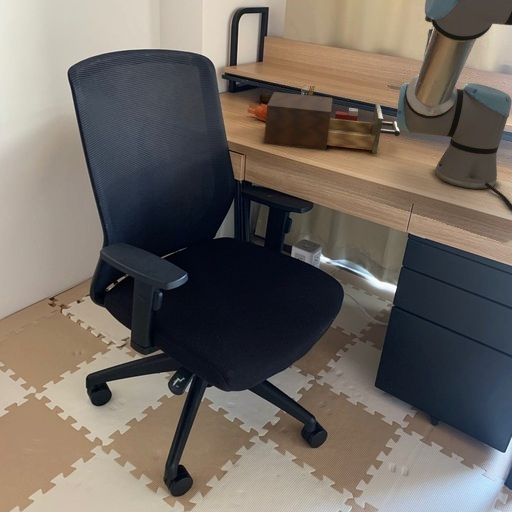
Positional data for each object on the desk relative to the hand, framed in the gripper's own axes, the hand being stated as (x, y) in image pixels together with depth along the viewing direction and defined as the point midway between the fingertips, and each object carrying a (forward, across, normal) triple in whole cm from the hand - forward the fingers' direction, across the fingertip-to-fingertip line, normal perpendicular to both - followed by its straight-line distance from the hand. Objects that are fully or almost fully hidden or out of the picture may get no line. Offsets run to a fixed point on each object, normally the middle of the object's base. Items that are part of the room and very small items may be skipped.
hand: (422, 97), depth 148 cm
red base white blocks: (+15, -15, -20) cm, 29 cm away
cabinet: (+15, 0, -34) cm, 37 cm away
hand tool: (+16, -32, -42) cm, 56 cm away
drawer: (+15, 0, -17) cm, 22 cm away
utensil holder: (+16, -20, -33) cm, 42 cm away
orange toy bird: (+16, -16, -46) cm, 51 cm away
